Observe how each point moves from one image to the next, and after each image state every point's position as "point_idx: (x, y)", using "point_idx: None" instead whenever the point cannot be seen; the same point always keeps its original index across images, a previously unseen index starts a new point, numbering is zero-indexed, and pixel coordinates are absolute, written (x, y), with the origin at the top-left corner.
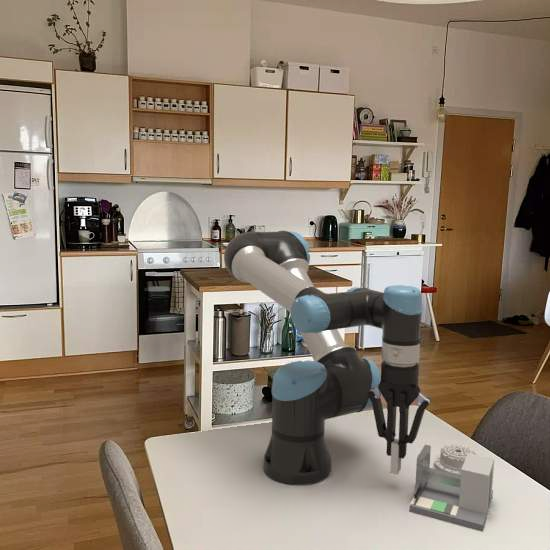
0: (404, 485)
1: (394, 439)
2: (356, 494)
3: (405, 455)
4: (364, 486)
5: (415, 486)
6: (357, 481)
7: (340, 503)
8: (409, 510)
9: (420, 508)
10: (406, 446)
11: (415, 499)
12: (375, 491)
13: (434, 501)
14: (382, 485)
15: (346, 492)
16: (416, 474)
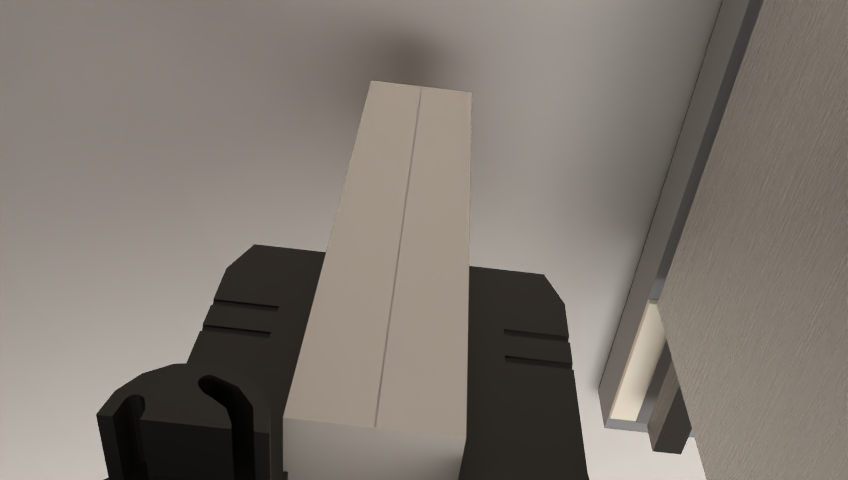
0: (523, 8)
1: (287, 467)
2: (148, 313)
3: (550, 288)
4: (147, 178)
5: (667, 337)
6: (42, 114)
7: None
8: (599, 395)
9: (691, 436)
10: (578, 419)
11: (653, 358)
12: (272, 223)
13: None
14: (297, 98)
15: (63, 312)
16: (703, 447)
